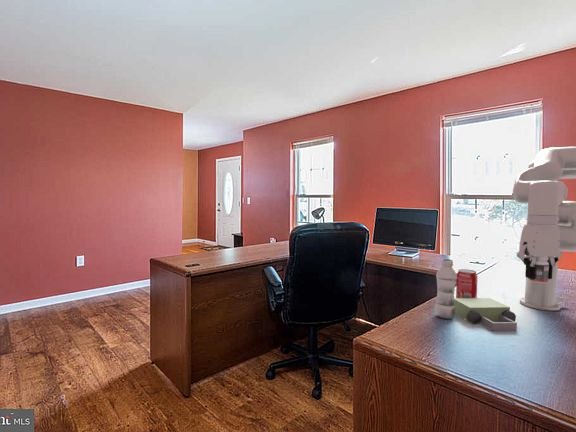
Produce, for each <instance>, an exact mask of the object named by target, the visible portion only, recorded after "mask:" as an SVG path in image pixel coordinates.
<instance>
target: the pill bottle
mask: <svg viewBox="0 0 576 432" xmlns="http://www.w3.org/2000/svg"><path fill="white" fill-rule="evenodd" d="M547 261H548V257H537V258H536V261H535V264H534V267H536V275H535V279H530V278H529V280H530V281H532V282H536V283H547V282H548V272H549V263H548V262H547Z"/></svg>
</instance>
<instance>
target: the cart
mask: <svg viewBox="0 0 576 432" xmlns="http://www.w3.org/2000/svg"><path fill="white" fill-rule="evenodd" d="M454 305H455V315H456V316H457V317H460V318H461V319H462V320H464V319H465V321H466V322H467V323H471V324H473V325H478V324H480V325H482V326H484V327H485V326H486V327H485V328H487V329H489V330H490V329H491V330H490V331H492V330H493V332H516V331H517V328H518V326H517V325H518V323H517V322H516V319H517V315H516V314H515V312H512V311H511V307H510V306H507V305H506V304H504V303H501V302H499V301H497V300H495V299H492V298H490V297H477V298H456V297H454Z"/></svg>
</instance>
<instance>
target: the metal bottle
mask: <svg viewBox="0 0 576 432" xmlns="http://www.w3.org/2000/svg"><path fill="white" fill-rule="evenodd" d="M440 265H441V267H440V268H439V269H438V270H436V271H437V272H436V276H435V277H436V286H437V287H436V288H437V290H436V291H437V294H436V302H435V304H434V313H435V315H436V316H437V317H439V318H441V319H447V320H448V319H453V318H454V317H455V315H456V314H455V305H454V298H455V292H456V289H455V288H456V283H457V273H456V271H455V270H454V268H453V266H454V260H453V259H449V258H441V261H440Z"/></svg>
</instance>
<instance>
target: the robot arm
mask: <svg viewBox="0 0 576 432" xmlns="http://www.w3.org/2000/svg"><path fill="white" fill-rule="evenodd" d="M571 179H572V180H575V179H576V146H561V147H548V148H544V149H542V150H540V151H539V152H537V153H536V155H535V157H534V160H532V161H531V162H529V164H528V166H527V169H526V170H524V171H521V172H520V173H519V174H518V175H517V176H516V178H515V180H514V185H513V188H512V198H513V200H514V201H515V202H517V203H519V204H527V215H526V216H527V218H526V224H524V225H523V228H522V230H521V231H522V232H521V235H520V240H519V248H518V251H517V253H516V257H517V258H518V259H519V260H521V261H522V263H523V265H525V275H524V277H525V287H524V288H525V289H524V297H522V298H520V299H519V303H520V304H521V305H523V306H526V307H528V308H532V309H537V310H542V311H550V312H551V311H552V312H553V311H560V310H561V309H562V308H561V305H560V304H559V303H561V302H563V303H565V302H566V303H567V302H568V298H567V297H566V296H559V295H557V287H558V272H559V270H558V269H559V262H558V261H559V260H560V259H561V258H563V257H564V254H563V253H562V252H567V253H568V252H569V253H570V252H572V253H576V201H573V200H567V197H568V193H569V191H568V186H567V185H566V184H565V183H564V182H563V181H560V180H571ZM537 257H548V261H547V262H548V263H549V272H548V282H547V283H536V282H532V281H530V280H529V278H530V279H535V275H536V267H534V264H535V261H536V258H537Z"/></svg>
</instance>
